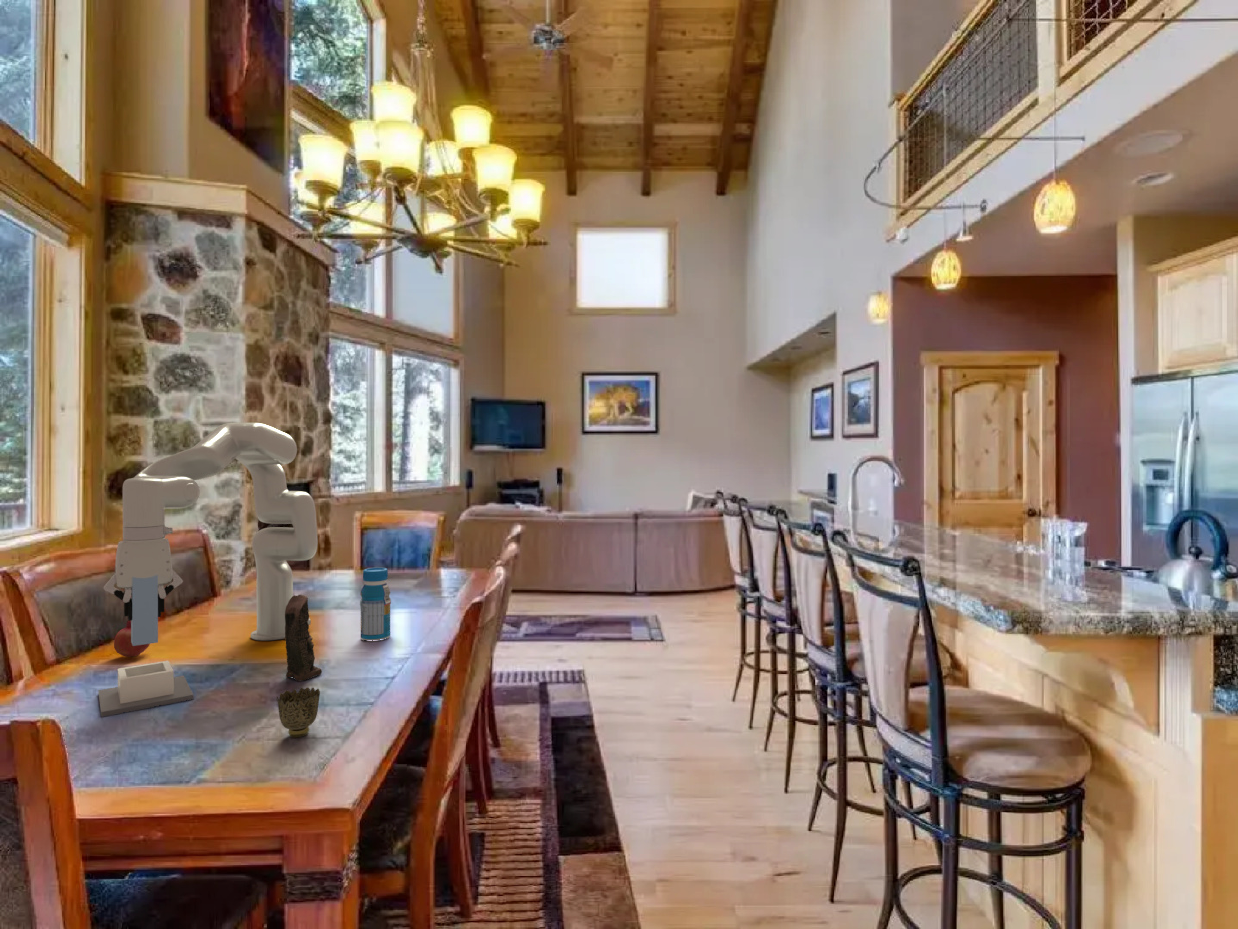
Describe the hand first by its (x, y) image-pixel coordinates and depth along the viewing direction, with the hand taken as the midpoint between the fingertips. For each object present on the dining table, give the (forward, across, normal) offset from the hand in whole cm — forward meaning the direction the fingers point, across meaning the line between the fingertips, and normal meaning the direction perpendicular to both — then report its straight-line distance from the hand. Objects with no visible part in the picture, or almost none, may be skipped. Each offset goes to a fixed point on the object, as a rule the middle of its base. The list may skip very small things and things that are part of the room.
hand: (144, 616), depth 149 cm
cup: (+18, -21, +42) cm, 50 cm away
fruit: (+18, 0, -37) cm, 41 cm away
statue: (+18, -30, +7) cm, 36 cm away
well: (+18, 0, 0) cm, 18 cm away
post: (+6, 0, 0) cm, 6 cm away
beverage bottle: (+18, -56, -16) cm, 61 cm away
